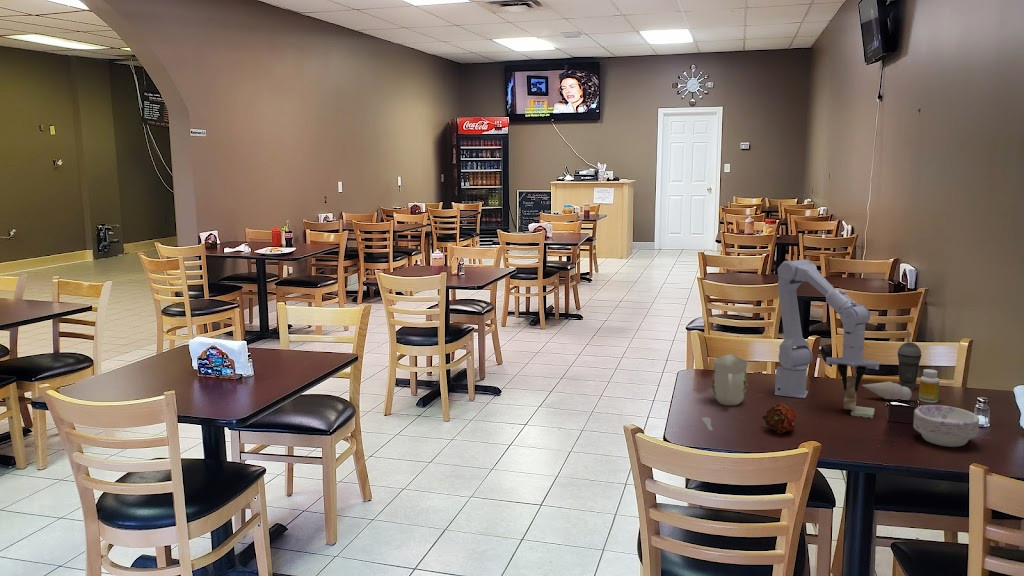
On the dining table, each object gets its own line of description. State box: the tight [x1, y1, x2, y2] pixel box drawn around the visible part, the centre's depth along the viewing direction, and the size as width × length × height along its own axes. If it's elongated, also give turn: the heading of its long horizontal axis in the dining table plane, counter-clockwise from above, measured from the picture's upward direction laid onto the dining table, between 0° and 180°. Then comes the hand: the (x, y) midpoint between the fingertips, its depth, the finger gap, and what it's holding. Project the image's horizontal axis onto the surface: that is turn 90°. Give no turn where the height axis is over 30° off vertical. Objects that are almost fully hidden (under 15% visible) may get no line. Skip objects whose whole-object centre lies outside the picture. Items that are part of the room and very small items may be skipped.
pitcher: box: [711, 353, 749, 406], centre depth 241 cm, size 11×18×14 cm, turn 164°
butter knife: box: [701, 416, 714, 431], centre depth 216 cm, size 1×24×3 cm
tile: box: [850, 405, 875, 419], centre depth 231 cm, size 2×7×6 cm
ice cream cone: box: [861, 380, 913, 401], centre depth 243 cm, size 6×6×15 cm
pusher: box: [843, 375, 858, 411], centre depth 232 cm, size 3×8×9 cm, turn 153°
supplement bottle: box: [918, 368, 940, 404], centre depth 242 cm, size 5×5×10 cm
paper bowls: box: [912, 404, 980, 448], centre depth 206 cm, size 15×15×8 cm
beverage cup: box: [897, 328, 922, 391], centre depth 255 cm, size 7×7×20 cm
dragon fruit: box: [761, 402, 797, 434], centre depth 215 cm, size 8×8×12 cm
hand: (850, 389), depth 231 cm, fingers closed on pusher, 2 cm apart
